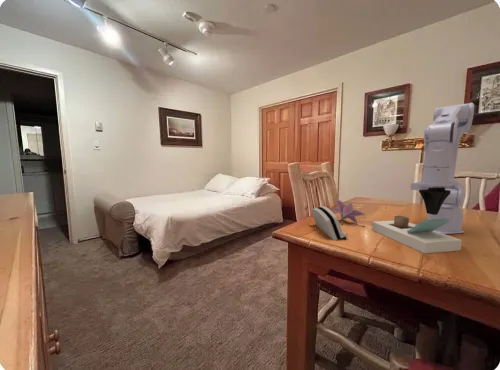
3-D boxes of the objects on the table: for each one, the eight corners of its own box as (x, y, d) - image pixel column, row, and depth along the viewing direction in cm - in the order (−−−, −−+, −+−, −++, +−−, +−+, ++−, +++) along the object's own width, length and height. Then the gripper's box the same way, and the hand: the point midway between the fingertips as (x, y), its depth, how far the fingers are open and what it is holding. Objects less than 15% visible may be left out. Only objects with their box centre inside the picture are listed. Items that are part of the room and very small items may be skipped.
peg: (400, 232, 76) (401, 215, 75) (410, 236, 72) (412, 218, 71) (390, 232, 75) (391, 216, 75) (399, 236, 71) (401, 219, 71)
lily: (367, 231, 80) (370, 207, 83) (340, 220, 78) (345, 196, 81) (344, 231, 91) (348, 209, 94) (321, 221, 89) (326, 200, 92)
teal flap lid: (430, 229, 68) (448, 218, 62) (431, 232, 67) (450, 221, 61) (406, 231, 66) (423, 219, 61) (408, 233, 66) (425, 222, 60)
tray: (400, 227, 80) (401, 220, 80) (460, 250, 61) (461, 239, 60) (372, 229, 78) (372, 221, 78) (424, 253, 59) (425, 242, 59)
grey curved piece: (349, 240, 69) (340, 211, 68) (335, 245, 69) (326, 216, 68) (328, 224, 85) (320, 201, 84) (316, 228, 85) (309, 205, 84)
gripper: (441, 166, 66) (437, 209, 68) (402, 166, 63) (399, 212, 65) (469, 167, 59) (463, 215, 61) (426, 167, 56) (422, 218, 58)
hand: (431, 213), depth 63 cm, fingers closed
